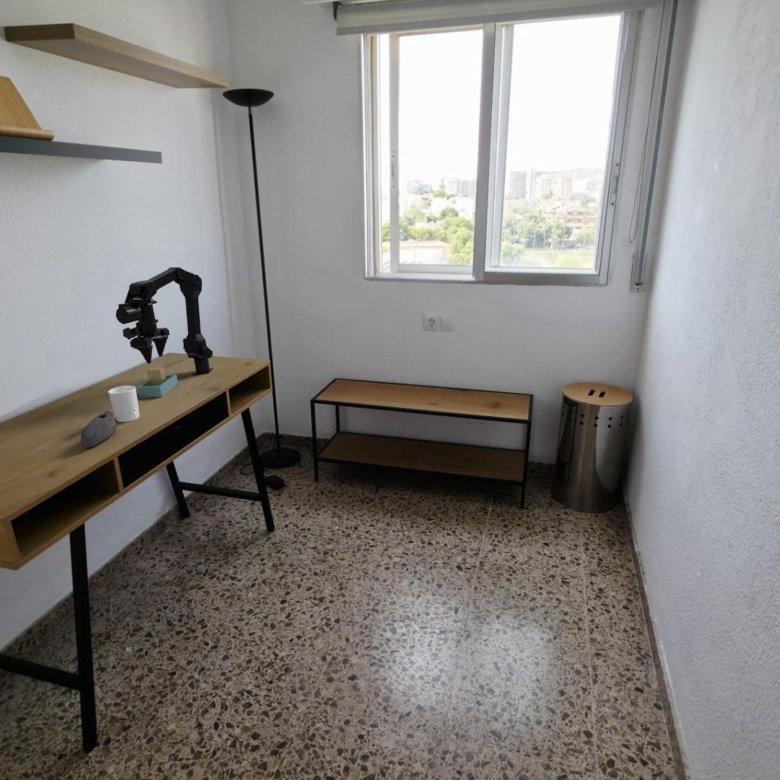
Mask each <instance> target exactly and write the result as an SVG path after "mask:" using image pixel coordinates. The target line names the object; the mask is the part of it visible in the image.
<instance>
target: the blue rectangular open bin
mask: <svg viewBox="0 0 780 780" xmlns="http://www.w3.org/2000/svg"><path fill="white" fill-rule="evenodd" d="M165 376H166V381H165V382H164V383H163V384H161V385H160V386H150V383H149V379H147V380H146V381H145V382H143V383H142V384H140V385H139V386H137V392H138V396H139V398H140V399H143V398H147V399H148V398H163V397H164V396H165V395H166V394H168V393H169V392H170V391H172V390H173V389H174V388H176V387H177V386H178V385H179V382H178V381H179V380H178V376H177V374H165Z"/></svg>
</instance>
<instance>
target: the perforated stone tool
mask: <svg viewBox="0 0 780 780" xmlns="http://www.w3.org/2000/svg"><path fill="white" fill-rule="evenodd" d="M117 426H118V424H117V420H115V417H114V411H110V410H106V411H104V412H103V413H102V412H101V414H99V415H96V417H94V418H93V419H92V420H90V421H89V422H88V423H87V425H85V427H84V428H83V429H82V431H81V435H80V443H81V445H82V446H83V447H84V448H92V447H95V446H97V445H99V444H100V442H101V443H102V442H105V441H106V440H107V439H108V438H111V436H112V435H113V434H114V433H115V432H116V431H117Z"/></svg>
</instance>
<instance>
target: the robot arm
mask: <svg viewBox="0 0 780 780" xmlns="http://www.w3.org/2000/svg"><path fill="white" fill-rule="evenodd" d="M172 282H174V283H175V284H177V285H179V291H180V292H181V294H182V295H183V297H184V303H185V313H186V314H185V315H186V326H187V334H186V337H185V338H182V345H183V347H182V349H184V353H185V354H186V355H187V357H188V359H193V362H194V369H195V370H194V371H193V372H192V375H199V374H200V375H201V374H205V375H206V374H210V372H212V371H213V370H214V367H211V365H210V359H211V358H212V357H213V356H214V351H213V350H212V349H211V348H209V347H208V346H207V340H206V338H205V337H204V335H203V334H202V328H201V327H202V326H201V313H200V303H199V301H200V300H199V297H200V295H201V293H202V291H203V279H202V277H200V275H198V274H196V273H193V272H190V271H187V270H185V269H183V268H182V267H181V266H179V267H178V266H173V267H172V266H171V267H168V268H167V269H166V270H164V271H162V272H160V273H158V274H157V275H154V276H152V277H151V278H148V279H145V280H140V281H138V280H137V281H135V282H132V283H130V284H129V286H128V291H127V294H126V297H125V299H124V303H119V304H118V305H117V306H118V308H117V309H116V311H115V317H116V320H117V322H119V323H120V324H121V325H127V324H130V323H134V322H135V327H132V328H130V327H129V326H128V327H126V328H123V329H122V334H123V338H126V339H127V341H130V342H129V344H130V348H133V349H134V350H137V351H138V352H139V353H141V355H142V356H143V359H144V360H145V362H146V363H147V365H148V364H149V365H150V364H152V360H153V359H152V358H153V357H152V356H153V347H154V346H155V349H156V352H157V355H158V357H160V358H161V357H163V355H164V351H165V347H166V345H167V341H168V339H169V336H170V335H171V334H170V329H169V328H167V327H158V324H157V323H159V319H157V318H156V315H155V309H154V305H155V304H158V301H157V300H155V299H154V298H153V297H154V296H155V295H157V293H158V290H160V289H162V288H163V287H165V286H167V285H168V284H171V283H172ZM152 343H154V344H152Z"/></svg>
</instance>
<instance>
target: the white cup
mask: <svg viewBox="0 0 780 780" xmlns="http://www.w3.org/2000/svg"><path fill="white" fill-rule="evenodd" d="M107 393H108V396H109V399H110V404H111V406H112V409H113V414H115V415H114V416H115V418H116V422H119V423H128V422H132V421H135V420H137V419H139V418H140V410H139V408H140V407H139V399H138V395H137V394H138V393H137V388H136V386H134V385H121V386H116V387H113V388H111V389H109V390H108V392H107Z"/></svg>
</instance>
